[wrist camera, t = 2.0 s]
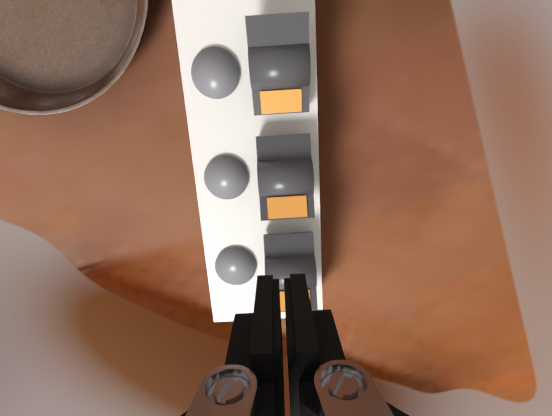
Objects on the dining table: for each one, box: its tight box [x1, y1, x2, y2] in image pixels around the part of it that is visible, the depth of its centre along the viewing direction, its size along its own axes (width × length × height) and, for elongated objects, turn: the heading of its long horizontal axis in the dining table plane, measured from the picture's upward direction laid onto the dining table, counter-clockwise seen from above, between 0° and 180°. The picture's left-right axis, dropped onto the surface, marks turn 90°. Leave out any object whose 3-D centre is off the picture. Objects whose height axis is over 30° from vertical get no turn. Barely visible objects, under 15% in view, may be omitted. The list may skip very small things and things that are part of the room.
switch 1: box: [245, 12, 311, 116], centre depth 20 cm, size 6×4×3 cm, turn 3°
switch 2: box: [263, 231, 318, 312], centre depth 24 cm, size 6×4×3 cm, turn 4°
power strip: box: [172, 0, 323, 322], centre depth 24 cm, size 32×9×4 cm, turn 3°
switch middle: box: [256, 133, 315, 221], centre depth 22 cm, size 6×4×3 cm, turn 4°
